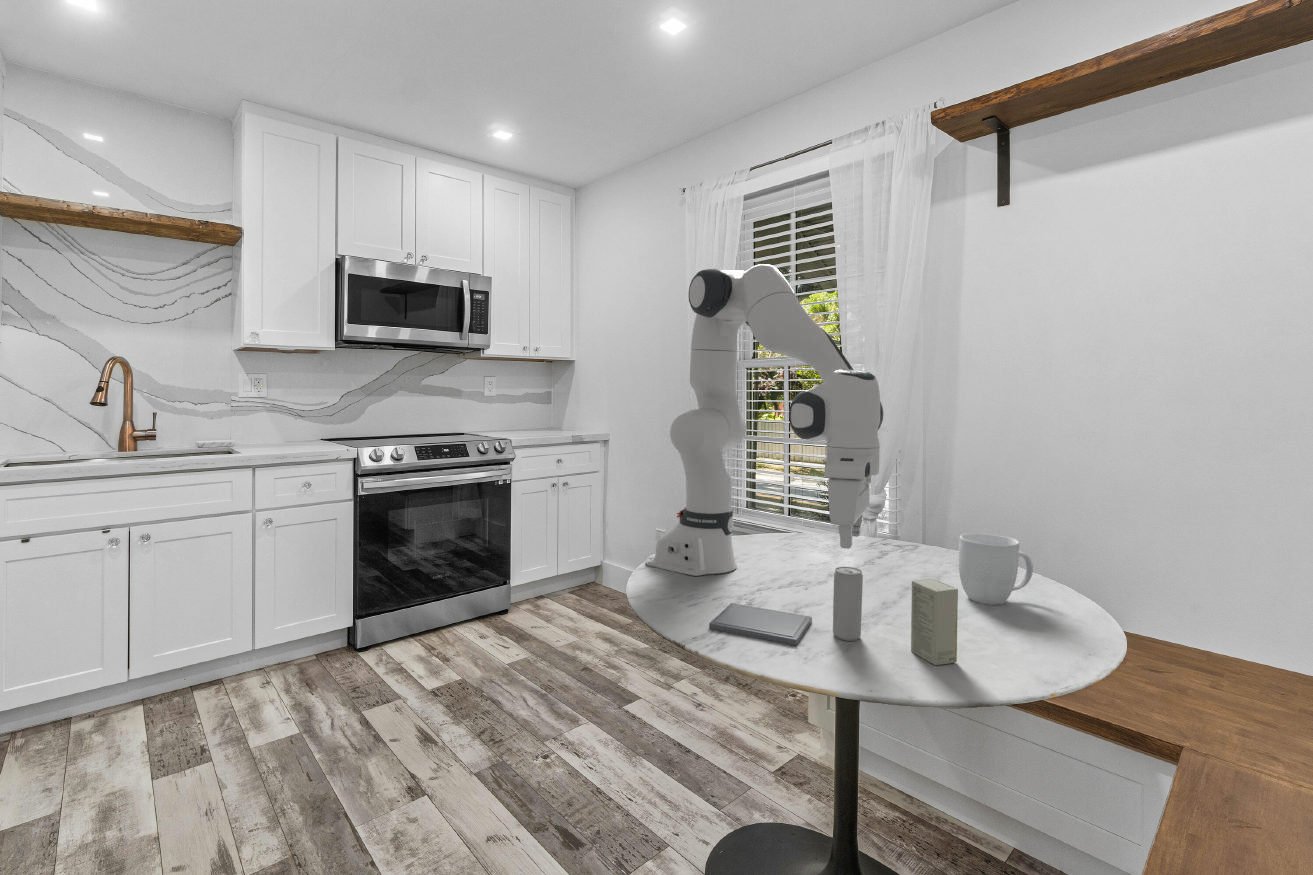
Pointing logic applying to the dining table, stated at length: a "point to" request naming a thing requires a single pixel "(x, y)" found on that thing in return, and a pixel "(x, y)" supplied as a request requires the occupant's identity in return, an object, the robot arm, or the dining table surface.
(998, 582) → the mug
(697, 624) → the dining table surface
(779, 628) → the slate coaster
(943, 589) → the skincare box
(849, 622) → the beverage can
